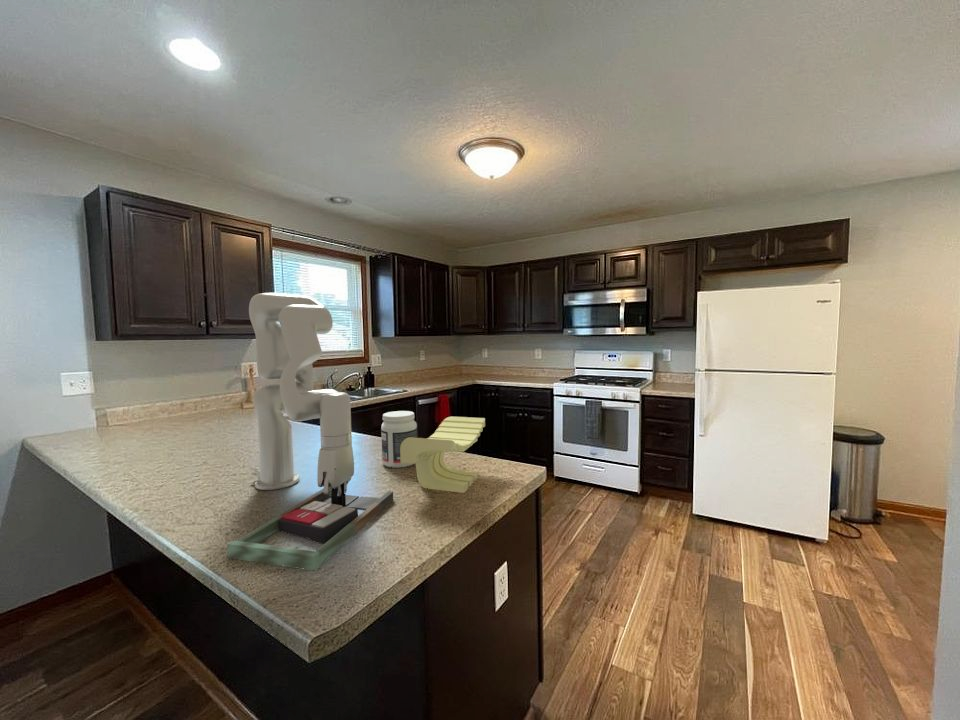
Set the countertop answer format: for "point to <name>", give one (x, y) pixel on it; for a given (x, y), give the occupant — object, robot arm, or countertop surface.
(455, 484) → the slatted curved stool
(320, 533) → the calculator
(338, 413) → the robot arm
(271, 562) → the channel
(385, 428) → the supplement tub
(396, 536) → the countertop surface
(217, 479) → the countertop surface
